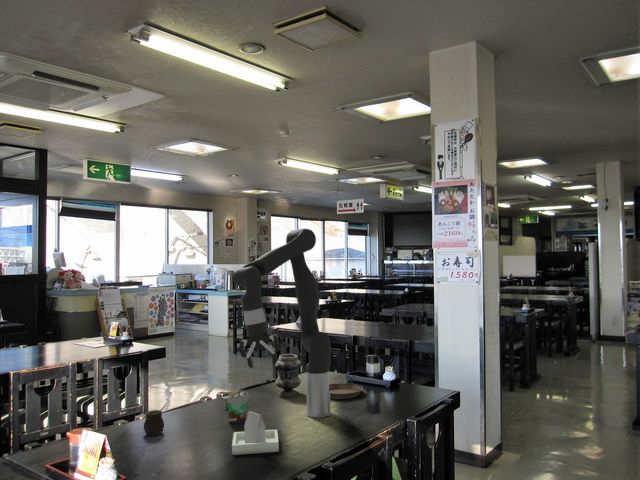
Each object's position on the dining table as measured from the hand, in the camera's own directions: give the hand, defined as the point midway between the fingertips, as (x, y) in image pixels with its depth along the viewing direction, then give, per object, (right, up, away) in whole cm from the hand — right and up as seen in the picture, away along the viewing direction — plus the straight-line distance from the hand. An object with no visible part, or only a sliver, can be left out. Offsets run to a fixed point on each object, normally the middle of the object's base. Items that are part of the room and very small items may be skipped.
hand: (263, 365), depth 183 cm
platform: (-17, -27, +37) cm, 49 cm away
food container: (-11, -26, +18) cm, 33 cm away
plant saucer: (+30, -27, +52) cm, 66 cm away
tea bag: (-1, -23, -12) cm, 26 cm away
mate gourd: (-40, -26, +3) cm, 48 cm away
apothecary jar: (+6, -27, +55) cm, 61 cm away
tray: (-1, -24, -12) cm, 27 cm away
